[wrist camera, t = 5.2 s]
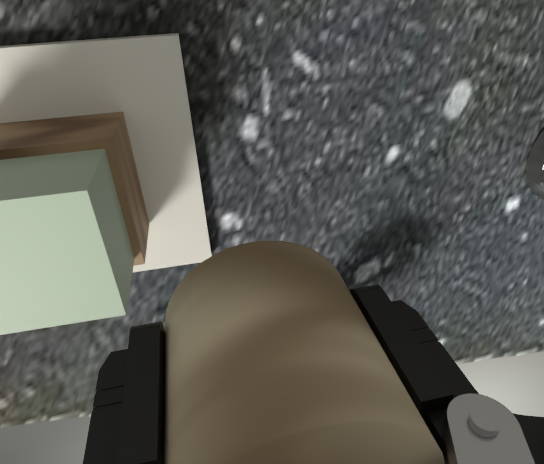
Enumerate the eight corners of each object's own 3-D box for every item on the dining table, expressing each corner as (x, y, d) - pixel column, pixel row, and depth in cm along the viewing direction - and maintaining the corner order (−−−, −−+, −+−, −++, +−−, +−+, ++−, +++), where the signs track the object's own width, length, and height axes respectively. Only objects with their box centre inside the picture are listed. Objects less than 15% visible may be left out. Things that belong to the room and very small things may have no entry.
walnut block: (122, 111, 26) (112, 138, 21) (149, 223, 30) (144, 264, 26) (-18, 125, 25) (-58, 155, 20) (30, 239, 29) (5, 284, 25)
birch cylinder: (351, 227, 11) (471, 392, 6) (341, 362, 13) (422, 542, 9) (147, 257, 10) (133, 468, 6) (180, 395, 12) (187, 607, 8)
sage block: (104, 148, 22) (87, 190, 17) (134, 258, 25) (125, 314, 21) (-43, 164, 21) (-98, 212, 17) (11, 276, 24) (-23, 338, 20)
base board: (178, 33, 25) (178, 34, 24) (211, 253, 33) (212, 260, 33) (-120, 54, 23) (-132, 57, 22) (-4, 284, 31) (-9, 293, 30)
